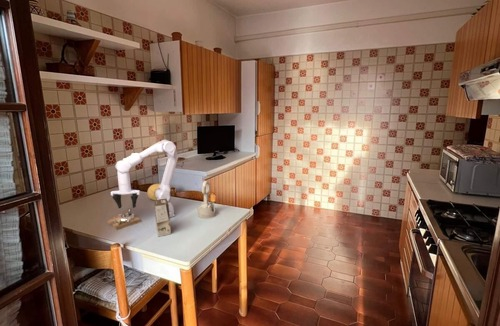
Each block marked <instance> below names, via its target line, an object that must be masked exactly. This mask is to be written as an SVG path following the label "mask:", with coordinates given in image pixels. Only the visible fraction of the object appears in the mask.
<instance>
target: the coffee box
mask: <svg viewBox="0 0 500 326" xmlns="http://www.w3.org/2000/svg"><path fill="white" fill-rule="evenodd" d="M153 203H154V217H155V226H156V233H157V237H163V236H168V235H171V233H172V230H171V220H170V218H171V217H170V216H169V204H168V201H167V199H159V200H153Z"/></svg>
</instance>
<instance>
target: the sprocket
mask: <svg viewBox="0 0 500 326" xmlns="http://www.w3.org/2000/svg"><path fill="white" fill-rule="evenodd" d="M134 216H135V214H134V213H132V208H128V209H127V212H126V213H120V214H119V213H118V215H117V216H113V218H114V220H113V221H114V223H116V222H118V219H120V224H121V223H123V222H129V221H130V220H134Z"/></svg>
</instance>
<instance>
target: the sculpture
mask: <svg viewBox="0 0 500 326" xmlns="http://www.w3.org/2000/svg"><path fill="white" fill-rule="evenodd" d="M160 184H161V183H154V184H151V185H150V186H149V187H148V188H147V193H146V194H147V197H148V199H150V200H152V201H154V200H157V199H158V198H157V197H156V195H155V192H156V190H157V189H158V188H159V185H160Z"/></svg>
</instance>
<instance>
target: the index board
mask: <svg viewBox="0 0 500 326" xmlns="http://www.w3.org/2000/svg"><path fill="white" fill-rule="evenodd" d="M113 220H114V217H113V218H110V219H108V220H106V223H107V225H110V226H111V227H112V228H114V229H115V230H117V231H118V230H122V229H124V228H127V227H130V226H134V225H136V224H139V223H142V219H141V218H140V217H139V216H136V215H134V220H130V221H129V222H123V223H121V224H120V219H118V222H116V223H114V221H113Z"/></svg>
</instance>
